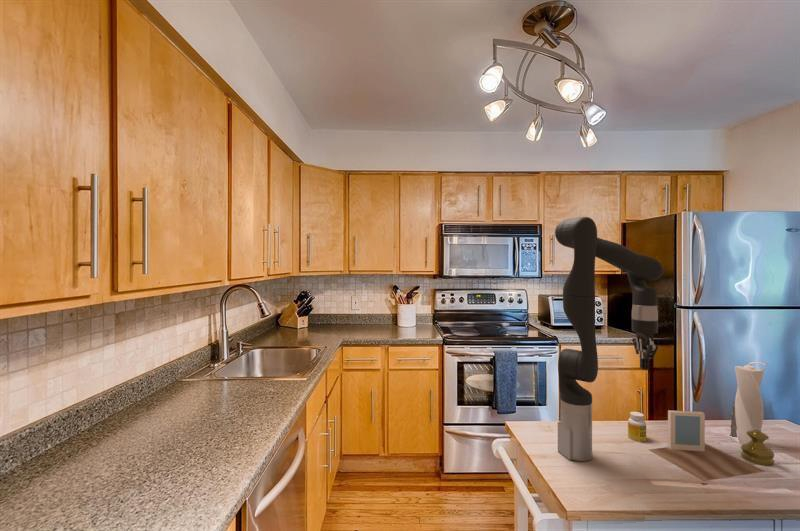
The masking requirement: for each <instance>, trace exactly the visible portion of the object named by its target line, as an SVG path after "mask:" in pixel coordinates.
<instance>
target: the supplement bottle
mask: <svg viewBox="0 0 800 531" xmlns="http://www.w3.org/2000/svg"><path fill="white" fill-rule="evenodd" d="M644 419H645V415H644V414H643V413H641V412H638V411H630V412H629V418H628V419H627V437H628V439H629V440H631V441H634V442H640V443H645V442H647V422H646V420H644Z"/></svg>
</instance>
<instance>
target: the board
mask: <svg viewBox="0 0 800 531" xmlns="http://www.w3.org/2000/svg"><path fill="white" fill-rule="evenodd" d="M648 451H650V452H652V453H653V454H655V455H656V456H658V457H661V458H662V459H664V460H666V461H667V462H669V463H671V464H673V465H675V466H677V467H678V468H680V469H682V470H683V471H685V472H687V473H689V474H691V475H692V476H694V477H696V478H698V479H699V480H701V481H704V482H705V481H710V480H718V479H725V478H731V477H737V476H744V475H749V474H750V475H751V474H757V473H763V472H764V473H765V470H764V469H762V468H759V467H757V466H755V465H754V464H751V463H750V462H749V463H748V461H746V460H745V461H744V460H742V459H740V458H738V457H736V456H735V455H734V456H733V455H732V454H729V453H727V452H724V451H723V450H721V449H718V448H716V447H715V446H712V445H710V444H708V443H706V442H705V451H689V450H672V449H669V448H668V446H666V447H665V446H664V447H658V448H650V449H648ZM700 484H701V485H703V486H707V485H708V483H702V482H701V483H700Z"/></svg>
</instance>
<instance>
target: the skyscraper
mask: <svg viewBox="0 0 800 531" xmlns="http://www.w3.org/2000/svg"><path fill="white" fill-rule="evenodd" d="M752 364H759V365H763V368H762V369H758V368H756V367H755V366H753V365H752ZM766 367H767V364H766V363H763V362H760V361H751V362H748V364H747V365H746V364H745V365H743V366H740V365H737V366H734V371H735V376H736V383H737V388H736V392H735V400H734V401H733V402H732V403H733V405H732V412H731V413H730V417H731V420H730V434H729V437H730V436H732V437H737V436H738V437H737V438H738V440H739V444H740V445H741V444H745V443H747V442H750V441H751V438H750V437H749V436H748V435H747V434H746V432H747V431H750V430H759V431H761V432H762V429H763V428H762V427H763V424H764V422H763V421H764V402H763V397H762V394H761V390H760V389H761V385H762V381H763V376H764V372H765V370H766Z"/></svg>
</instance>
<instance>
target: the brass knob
mask: <svg viewBox="0 0 800 531" xmlns="http://www.w3.org/2000/svg"><path fill="white" fill-rule="evenodd" d="M746 434H747V435H748V436H749V437H750V438H751V441H750V442H747V443H745V444H742V445H741V444H740V445H741V446H740V449H741V452H740V454H741V458H742V459H744V460H745V461H746V462H749V463H750V464H751V463H752V464H753V465H759V466H763V467H772V466H775V460H774V457H775V453H774V451H773V450H772V449H771V448H769V447H768V446H767V445H766V444H765V443H764V442H765V441H767V440H770V439H769V438H770V436H769V435H768V434H766V433H764V432H763V431H762V430H761V431H759V430H750V431H747V432H746Z"/></svg>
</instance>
